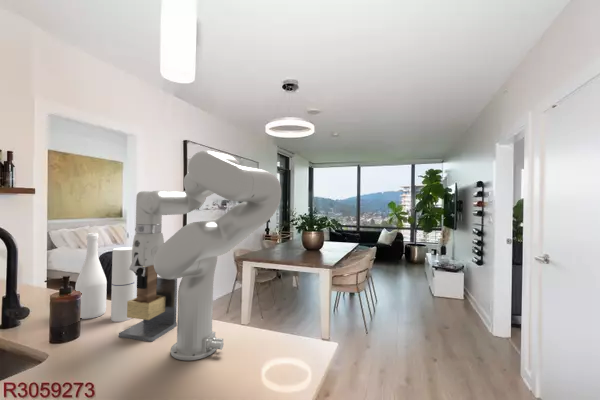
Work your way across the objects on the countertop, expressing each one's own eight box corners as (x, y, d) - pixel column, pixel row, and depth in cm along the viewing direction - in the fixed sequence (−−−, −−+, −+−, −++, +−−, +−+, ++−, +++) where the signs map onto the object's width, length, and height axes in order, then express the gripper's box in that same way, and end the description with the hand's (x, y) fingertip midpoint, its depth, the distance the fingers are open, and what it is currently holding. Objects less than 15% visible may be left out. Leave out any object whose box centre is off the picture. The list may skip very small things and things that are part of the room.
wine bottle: (112, 312, 114) (114, 232, 114) (87, 321, 105) (89, 235, 105) (93, 309, 117) (95, 231, 117) (68, 317, 108) (70, 234, 108)
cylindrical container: (115, 323, 104) (117, 250, 104) (107, 318, 108) (109, 248, 108) (137, 317, 110) (139, 248, 110) (128, 312, 114) (130, 246, 114)
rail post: (156, 299, 99) (157, 257, 99) (147, 303, 95) (148, 259, 95) (145, 298, 100) (146, 256, 100) (136, 302, 96) (137, 258, 96)
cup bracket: (176, 326, 103) (177, 278, 103) (152, 341, 91) (153, 288, 91) (146, 322, 106) (147, 275, 106) (118, 336, 94) (120, 284, 94)
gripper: (139, 232, 88) (137, 295, 88) (175, 228, 105) (173, 280, 105) (117, 231, 90) (116, 292, 90) (156, 227, 106) (155, 279, 106)
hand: (147, 285), depth 97 cm, fingers closed on rail post, 4 cm apart
